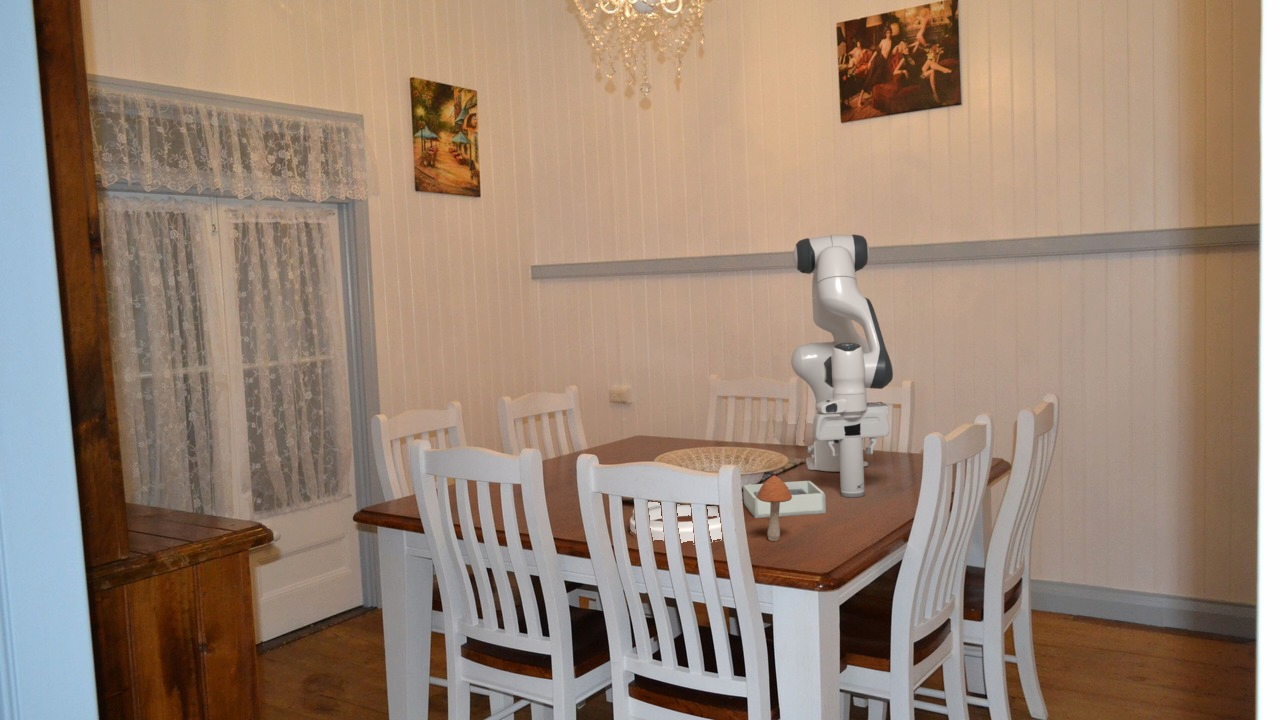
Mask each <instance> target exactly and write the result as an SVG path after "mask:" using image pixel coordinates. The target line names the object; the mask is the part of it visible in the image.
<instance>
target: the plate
mask: <svg viewBox="0 0 1280 720" xmlns="http://www.w3.org/2000/svg"><path fill="white" fill-rule="evenodd" d="M648 508H649V515H650V528H651V533H652V537H653V541H654V540H663V541H664V532H663V522H664V521H663V522H662V521H661V520H660V519H663V518H662V516H661V505H660V503H658V502H651V501H648ZM707 509H708V516H707V517H713V516H717V517H714V518H708V519H707V520H708V524H709V531H710V536H711V539H712V542H711V543H714V542H713V540H717V539H721V540H720V541H723V540H722V532H721V523H720V517H719V513H718V507H717V506H707ZM677 513H678V516H677V517H692V516H691V507H690V505H680V504H677ZM688 515H689V516H688ZM692 521H693V520H691V521H677V522H678V528H679V534H680V539H681V543H683V542H687V541H693V543H694V533H693V523H692ZM629 527H630V530H631V531H632V532H634V533H635V534H636V529H635V520H634V509H633V510H632V516H631V517H630V519H629ZM631 531H630V532H631Z"/></svg>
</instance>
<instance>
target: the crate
mask: <svg viewBox="0 0 1280 720" xmlns="http://www.w3.org/2000/svg"><path fill="white" fill-rule="evenodd" d="M783 482H784V483H785V484H786V486H787V487H788V489H789V491H790V493H791V496H792V499H791V500H789V501H786V502H780V508H779V517H787V516H788V517H790V516H791V517H793V516H802V515H803V516H804V515H805V516H806V515H817V514H819V515H820V514H826V513H827V508H826V507H827V506H826V504H827V503H826V493H825V492H824V491H823V490H822V489H820V488H819V487H818V486H817V485H816V484H815V483H813V482H812V481H811V480H799V481H786V482H785V481H783ZM763 484H764V483H755V484H743V485H742V490H743V491H742V492H743V493H742V494H743V505H744V506H745V507H746V508H747V510H748V511H749V512H750V514H751V515H752V516H753V517H754V519H760V518H761V519H762V518H770V503H771V502H764V501H760V500H759V499H758V498H757V495H758V493H759V490H760V488H761V487H762V485H763Z"/></svg>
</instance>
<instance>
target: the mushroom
mask: <svg viewBox="0 0 1280 720" xmlns="http://www.w3.org/2000/svg"><path fill="white" fill-rule="evenodd" d="M784 482H785V481H783V480H782V479H781V478H780V477H779V476H776V475H775V474H774V475H771V477H769V478H767V479H766V480H765V481H764V483H762V484H763V485H762V487H761V488H760V490H759V493H758V495H757V498H758V499H759V500H760V501H764V502H771V503H770V517H769V522H768V527H767V533H766V534H767V538H768V540H769V541H771V542H779V540H780V536H781V528H780V516H779V508H780V502H786V501H789V500H791V499H792V496H791V493H790V491H789V489H788V487H787V486H786V484H785V483H784Z"/></svg>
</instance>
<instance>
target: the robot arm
mask: <svg viewBox="0 0 1280 720" xmlns="http://www.w3.org/2000/svg"><path fill="white" fill-rule="evenodd" d="M870 253H871V251H870V246H869V244H868V242H867V239H866V238H865V237H864V236H863V235H860V234H851V235H850V234H849V235H848V234H846V235H845V234H833V235H832V234H831V235H826V236H819V237H813V238H808V237H807V238H803V239H800V240H798V241H797V243H796V244H795V247H794V249H793V254H792V255H793V256H792V257H793V263H794V265H795V267H796V270H797V271H799V272H800V273H802V274H807V275H811V274H812V283H811V284H812V285H811V296H812V298H811V300H812V319H813V322H814V324H815V325H816V326H817V327H818V328H820V329H822V330H823V331H826V332H827V333H831V336H832V338H833V341H827V342H825V341H824V342H810V343H807V344H803V345H799V346H797V347H795V349H794V351H793V352H792V355H791V360H790V361H791V366H792V367H791V368H792V370H793V372H794V374H795V375H797V376H798V377H799V378H801V379H802V380H803V381H805V383H807V385H808V386H809V388H810V389H811V391H812V392H813V394H814V398H815V410H816V412H817V413H815V414H814V416H813V421H812V437H813V438H814V440H813V442H812V444H811V445H808V446H807V453H808V454H811V455H810V457H806V458H805V464H806V468H807V470H811V471H822V472H840V460H839V440H840V439H845V431H844V426H851V425H856V424H859V423H861V424H860V428H861V431H860V432H861V438H863V439H868V440H869V441H870V443H869V445H868V446H865V454H866V455H873V453H874V447H875V446H876V443H877V438H882V437H883V438H884V437H888V436H889V434H890V431H891V430H890V423H889V418H888V416H889V407H888V405H887V404H886V403H883V402H882V401H878V402H867V399H868V398H867V389H875V390H876V389H877V390H879V389H881V390H882V389H884V388H885V387H887V386H888V385H889V384H890V383H891V382H892V380H893V377H894V367H893V364H892V361H891V359H890V355H889V352H888V350H887V348H886V344H885V341H884V337H883V334H882V331H881V327H880V325H879V321H878V318H877V314H876V311H875V309H874V305H873V303H872V301H871V300H870V299H869V298H868V297H865V296H864V295H863V294H862V292H861V291H860V289H859V286H858V283H857V276H856V275H857V272H858V271H860V270H863V269H864V268H865V266H867V264H868V261H869V259H870ZM853 321H854V322H855V323H858V324H859V325H860V326H861V327H862V329H863V333H864V336H865V339H864V338H863V337H862V336H861V335H860V334H859V333H858V331H857V330H856V328H855V326H854V324H853V323H854V322H853ZM863 464H864V467H868V466H869V463H868V461H865V460H863Z"/></svg>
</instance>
